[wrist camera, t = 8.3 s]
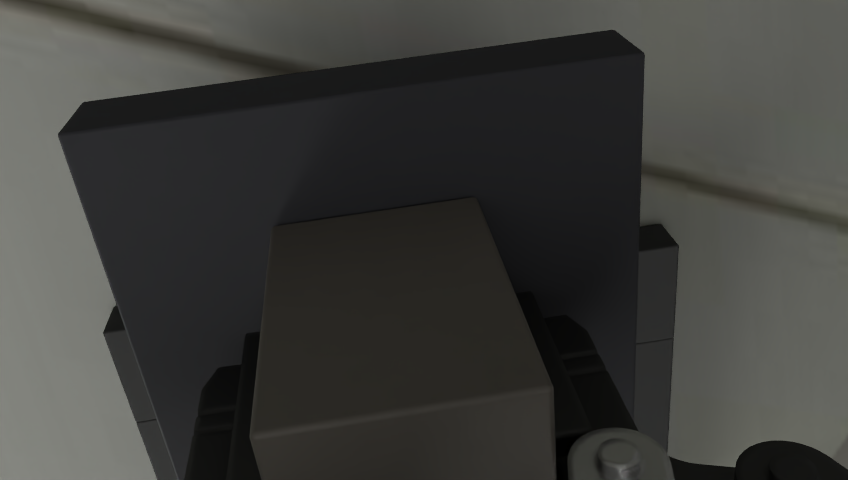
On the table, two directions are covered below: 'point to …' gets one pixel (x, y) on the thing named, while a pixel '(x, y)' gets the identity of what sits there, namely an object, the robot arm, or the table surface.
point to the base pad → (649, 368)
